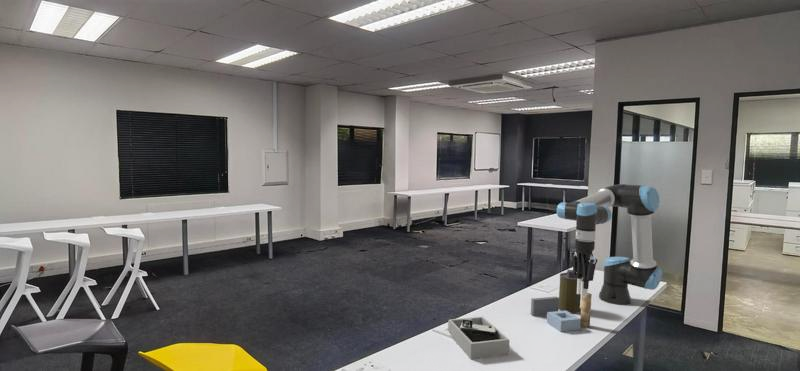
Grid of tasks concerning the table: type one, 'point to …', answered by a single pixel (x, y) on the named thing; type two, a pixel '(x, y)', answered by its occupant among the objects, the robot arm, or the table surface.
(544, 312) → the wall
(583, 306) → the dowel
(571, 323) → the block
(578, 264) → the robot arm
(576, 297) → the canister
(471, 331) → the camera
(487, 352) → the tray
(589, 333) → the table surface
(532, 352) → the table surface
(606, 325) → the table surface
